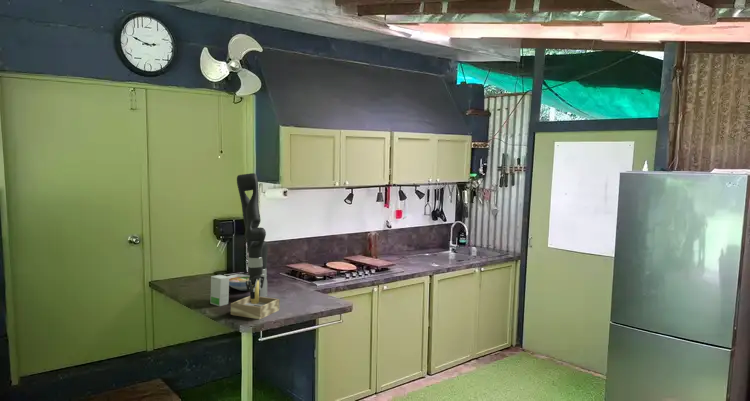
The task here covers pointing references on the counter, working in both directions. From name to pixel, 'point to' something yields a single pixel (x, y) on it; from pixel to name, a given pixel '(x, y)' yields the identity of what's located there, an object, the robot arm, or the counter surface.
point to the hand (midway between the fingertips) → (255, 297)
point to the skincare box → (219, 290)
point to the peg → (256, 294)
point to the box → (255, 307)
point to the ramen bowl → (239, 281)
